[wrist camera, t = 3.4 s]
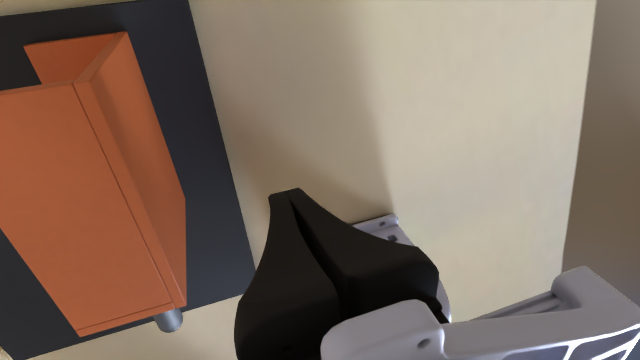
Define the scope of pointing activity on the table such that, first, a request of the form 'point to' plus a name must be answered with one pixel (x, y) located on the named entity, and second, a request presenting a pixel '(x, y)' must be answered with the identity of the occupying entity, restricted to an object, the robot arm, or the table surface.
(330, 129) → the table surface
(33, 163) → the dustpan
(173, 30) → the mat
